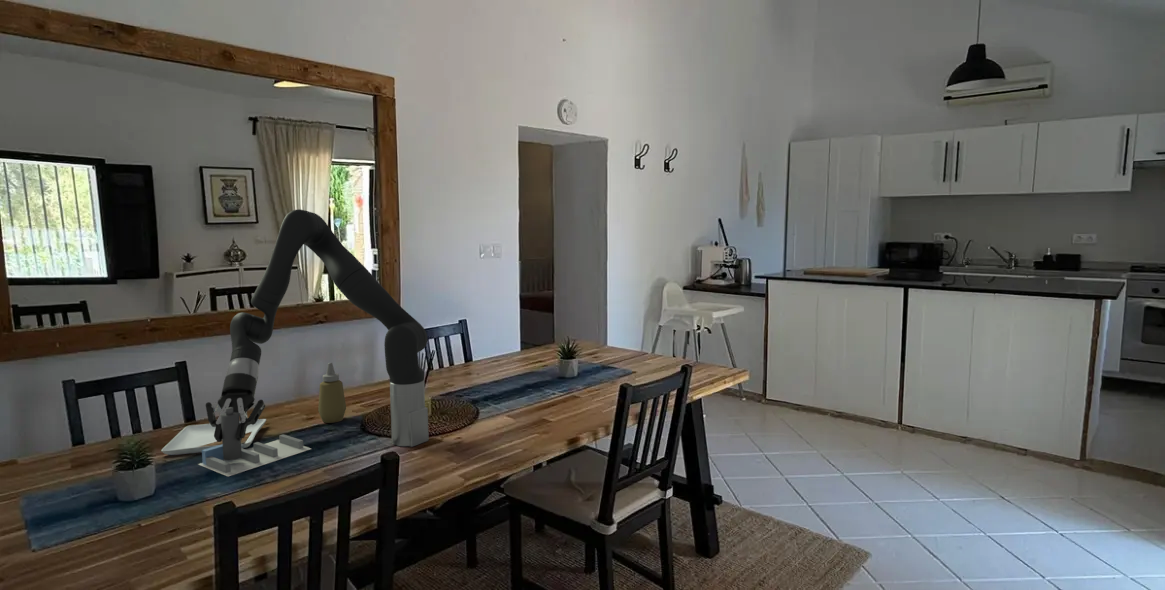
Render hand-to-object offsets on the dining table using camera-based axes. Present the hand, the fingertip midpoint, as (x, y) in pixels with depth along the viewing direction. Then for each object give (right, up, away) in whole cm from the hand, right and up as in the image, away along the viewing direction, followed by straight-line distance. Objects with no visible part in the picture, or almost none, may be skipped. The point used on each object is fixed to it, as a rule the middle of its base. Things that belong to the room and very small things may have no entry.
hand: (228, 439), depth 156 cm
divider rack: (+3, -7, +8) cm, 11 cm away
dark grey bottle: (0, -5, +3) cm, 6 cm away
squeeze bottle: (+10, -3, +40) cm, 41 cm away
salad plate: (-14, -6, +20) cm, 25 cm away
